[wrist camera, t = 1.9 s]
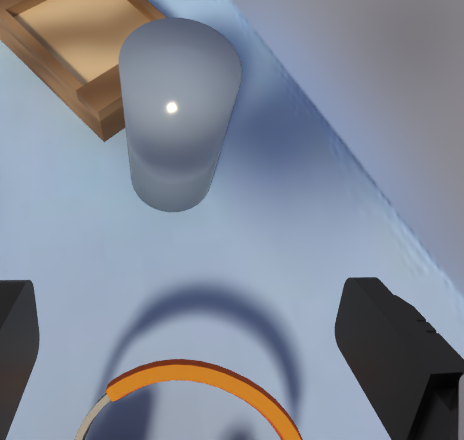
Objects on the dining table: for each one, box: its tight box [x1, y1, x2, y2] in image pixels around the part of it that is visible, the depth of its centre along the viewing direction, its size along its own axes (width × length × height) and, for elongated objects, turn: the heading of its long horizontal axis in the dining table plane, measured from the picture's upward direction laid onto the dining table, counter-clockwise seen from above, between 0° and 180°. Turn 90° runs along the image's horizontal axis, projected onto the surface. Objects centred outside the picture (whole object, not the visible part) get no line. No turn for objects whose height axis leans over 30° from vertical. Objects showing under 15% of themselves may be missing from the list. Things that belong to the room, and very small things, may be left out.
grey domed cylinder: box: [119, 18, 242, 212], centre depth 24 cm, size 6×6×11 cm
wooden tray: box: [0, 0, 166, 142], centre depth 29 cm, size 12×9×4 cm
